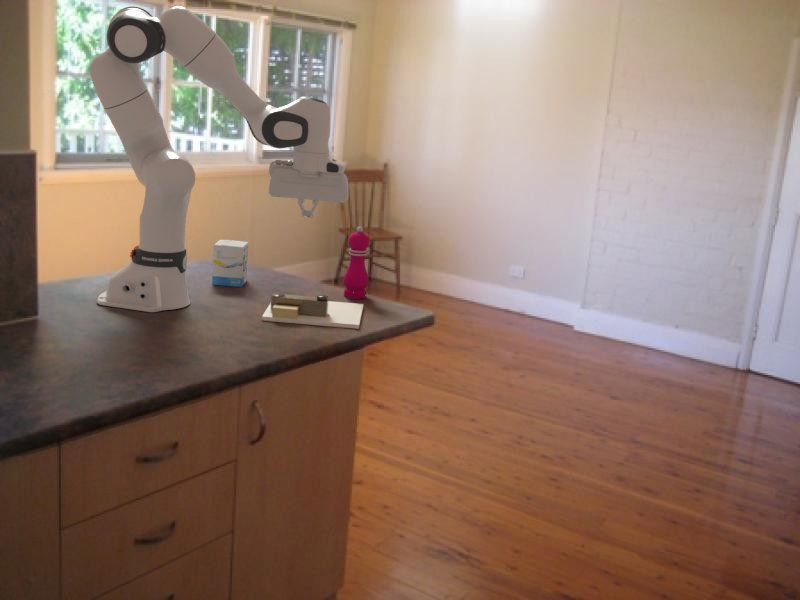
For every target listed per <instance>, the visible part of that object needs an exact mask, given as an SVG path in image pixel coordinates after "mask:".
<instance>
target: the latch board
mask: <svg viewBox="0 0 800 600" xmlns="http://www.w3.org/2000/svg"><path fill="white" fill-rule="evenodd" d="M298 308H299V306H288V305H276V304H275V305H274V306H273V311H271V302H270V303H269V305H268V306H267V308H266V309H265V311H264V313H263V314H262V316H261V321H264V322H265V321H266V322H277V323H278V322H279V323H289V324H299V325H301V324H302V325H309V326H310V325H312V326H323V327H335V328H343V329H344V328H346V329H357V330H359V329H360V326H361V325H360V324H361V319H362V315H363V312H364V303H355V302H343V301H342V302H341V301H331V300H329V301H328V313H327V315H326V316H317V315H306V314H298Z"/></svg>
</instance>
